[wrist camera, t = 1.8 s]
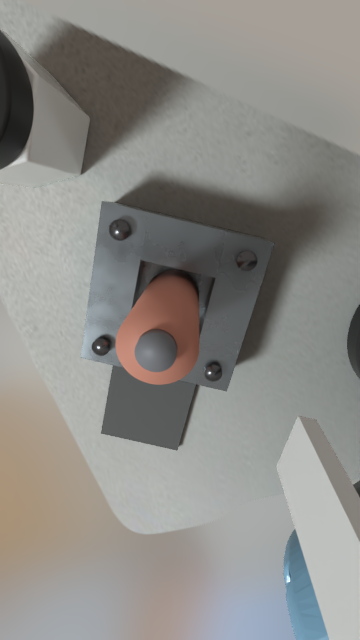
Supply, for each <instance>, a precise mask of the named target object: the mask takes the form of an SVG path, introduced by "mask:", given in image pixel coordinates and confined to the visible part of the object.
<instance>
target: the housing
mask: <svg viewBox="0 0 360 640" xmlns="http://www.w3.org/2000/svg"><path fill="white" fill-rule="evenodd" d="M274 244H275V243H274V242H271V241H269V240H267V239H265V238H260V237H256V236H252V235H248V234H244V233H240V232H236V231H232V230H227V229H223V228H219V227H215V226H211V225H207V224H203V223H199V222H195V221H190V220H186V219H182V218H178V217H174V216H170V215H166V214H162V213H157V212H153V211H149V210H145V209H141V208H137V207H133V206H129V205H125V204H120V203H116V202H107V201H102V204H101V212H100V219H99V227H98V234H97V241H96V249H95V256H94V264H93V271H92V278H91V286H90V293H89V301H88V308H87V315H86V323H85V330H84V338H83V345H82V352H81V358H84V359H88V360H93V361H97V362H101V363H106V364H110V365H114V366H119V367H123V366H122V364H121V363H120V361H119V359H118V356H117V353H116V344H115V343H116V336H117V333H118V330H119V328H120V326H121V325H122V323H123V322H124V320H125V319H126V317H127V316H128V314H129V313H130V311H131V310H132V308H133V307H134V305H135V304H136V302H137V301H138V299H139V298H140V296H141V295H142V293H143V292H144V290H145V289H146V287H147V286H148V284H149V283H150V281H151V280H152V279H153V278H154V277H155V276H156V275H157V274H159V273H161V272H163V271H166V270H179V271H182V272H184V273H186V274H187V275H189V276H190V277H191V278H192V279H193V280H194V281H195V283H196V285H197V287H198V291H199V355H198V359H197V362H196V364H195V366H194V367H193V369H192V370H191V371H190V372H189V373H188V374H187V375H186V376H185V377H183V378H182V379H180V381H184V382H188V383H193V384H197V385H201V386H206V387H210V388H214V389H219V390H223V391H227V389H228V386H229V383H230V380H231V377H232V373H233V370H234V367H235V364H236V361H237V358H238V355H239V352H240V349H241V346H242V343H243V340H244V336H245V333H246V330H247V327H248V324H249V321H250V318H251V315H252V312H253V309H254V306H255V303H256V299H257V296H258V293H259V290H260V287H261V284H262V281H263V278H264V275H265V272H266V269H267V266H268V263H269V259H270V256H271V253H272V250H273V247H274ZM123 368H124V367H123Z"/></svg>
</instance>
